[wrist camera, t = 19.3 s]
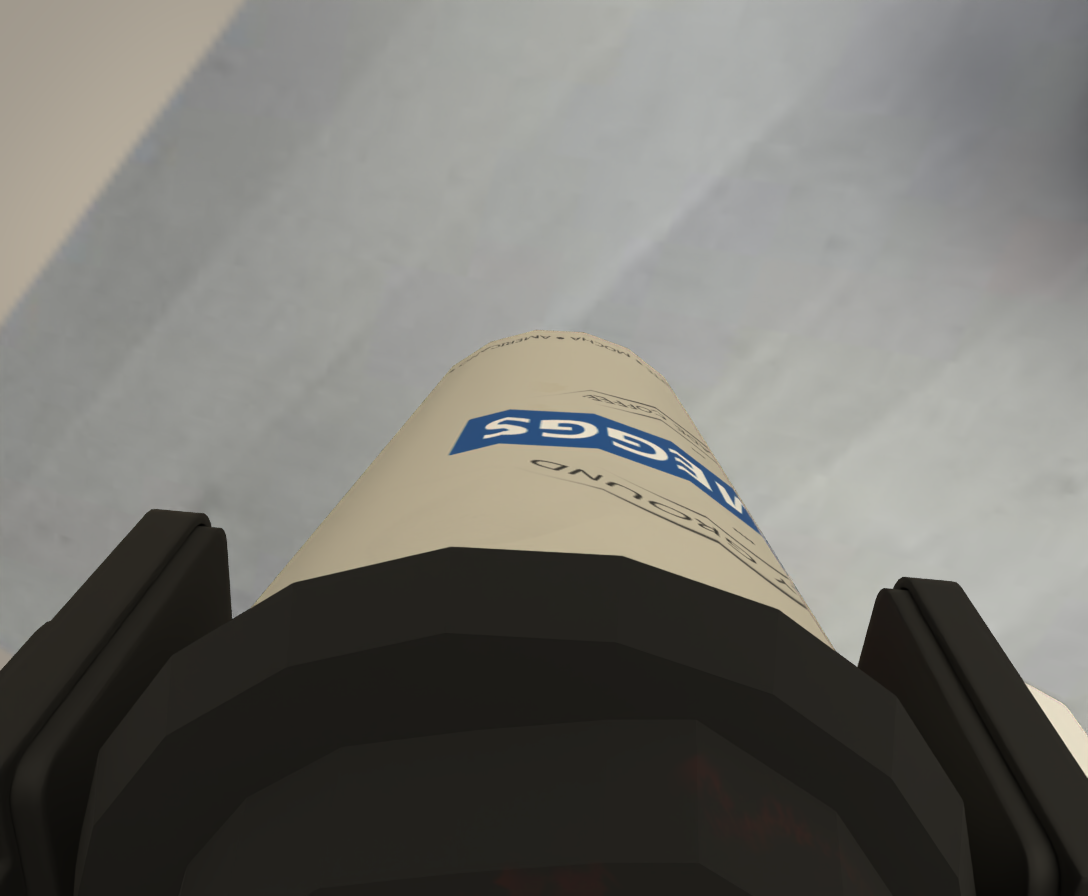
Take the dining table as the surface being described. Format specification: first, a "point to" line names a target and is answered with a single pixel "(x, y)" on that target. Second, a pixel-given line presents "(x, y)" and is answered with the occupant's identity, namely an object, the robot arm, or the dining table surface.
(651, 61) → the dining table surface
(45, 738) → the robot arm
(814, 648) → the coffee cup
